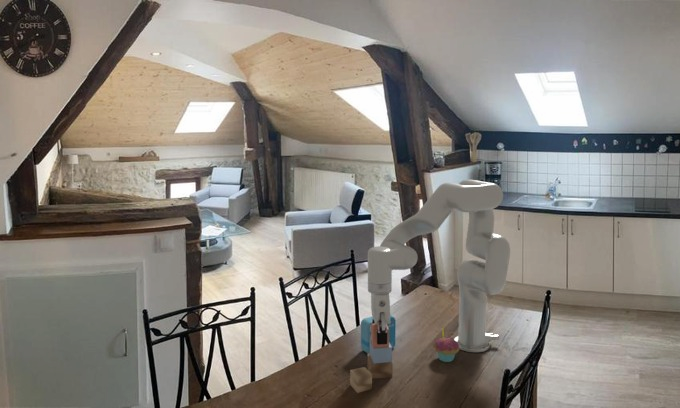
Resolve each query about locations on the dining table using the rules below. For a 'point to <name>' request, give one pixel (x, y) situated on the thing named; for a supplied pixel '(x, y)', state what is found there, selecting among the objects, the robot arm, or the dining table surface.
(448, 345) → the cupcake
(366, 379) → the block
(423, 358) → the dining table surface
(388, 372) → the tower base
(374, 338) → the salmon orange block
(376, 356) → the tower top
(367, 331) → the data package
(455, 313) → the dining table surface
